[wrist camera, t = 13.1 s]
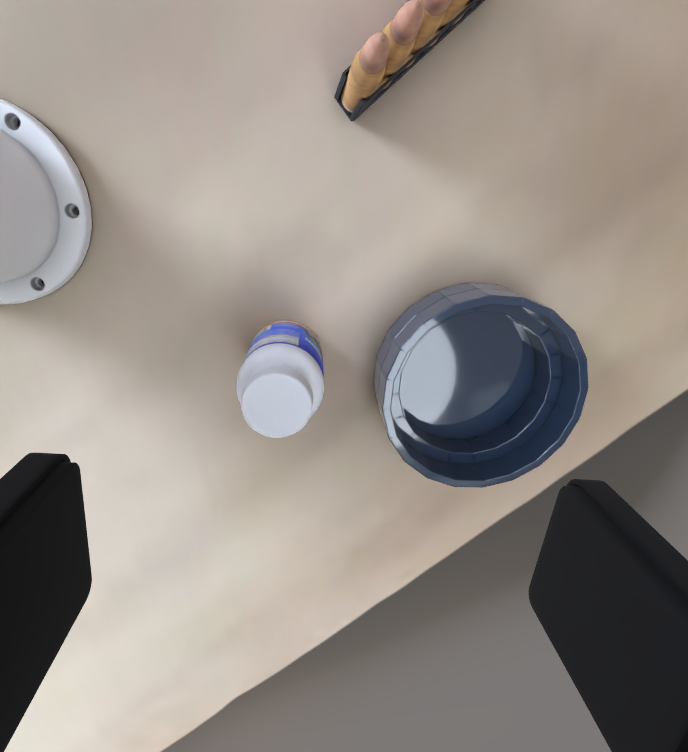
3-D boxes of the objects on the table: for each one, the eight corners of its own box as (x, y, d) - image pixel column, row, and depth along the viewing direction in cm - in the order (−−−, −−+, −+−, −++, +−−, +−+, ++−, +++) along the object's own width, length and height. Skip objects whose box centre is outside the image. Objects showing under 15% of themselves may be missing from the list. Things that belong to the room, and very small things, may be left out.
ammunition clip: (351, 122, 30) (378, 77, 19) (333, 96, 29) (348, 33, 18) (490, -5, 28) (611, -141, 17) (473, -36, 27) (587, -198, 16)
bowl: (365, 450, 38) (373, 484, 34) (383, 276, 33) (396, 288, 29) (530, 455, 40) (560, 489, 35) (572, 288, 35) (612, 302, 30)
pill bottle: (326, 381, 36) (332, 443, 27) (256, 391, 36) (239, 457, 27) (316, 313, 34) (319, 355, 25) (242, 323, 34) (219, 369, 25)
